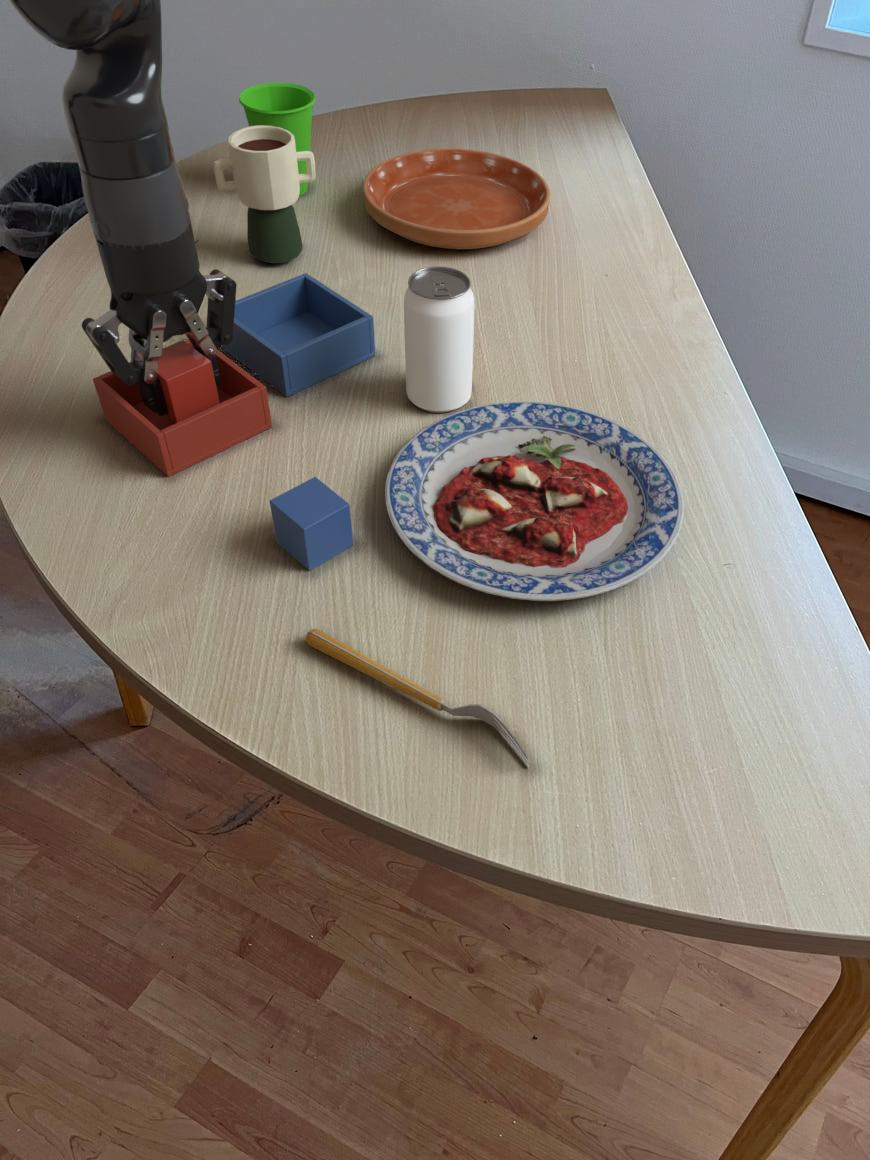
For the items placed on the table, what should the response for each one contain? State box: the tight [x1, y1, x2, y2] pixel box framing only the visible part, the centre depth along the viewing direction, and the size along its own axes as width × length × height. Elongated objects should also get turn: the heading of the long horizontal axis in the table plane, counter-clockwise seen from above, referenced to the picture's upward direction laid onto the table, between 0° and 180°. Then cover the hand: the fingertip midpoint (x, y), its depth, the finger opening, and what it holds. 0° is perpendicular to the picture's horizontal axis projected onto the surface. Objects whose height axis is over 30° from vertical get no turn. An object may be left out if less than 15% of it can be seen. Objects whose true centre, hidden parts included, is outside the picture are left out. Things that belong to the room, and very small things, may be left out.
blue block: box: [269, 476, 354, 571], centre depth 79 cm, size 5×5×5 cm
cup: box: [238, 82, 316, 197], centre depth 119 cm, size 9×9×11 cm
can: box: [403, 266, 475, 414], centre depth 90 cm, size 6×6×12 cm
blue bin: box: [221, 272, 376, 398], centre depth 97 cm, size 11×11×4 cm
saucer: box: [362, 147, 551, 250], centre depth 118 cm, size 23×23×4 cm
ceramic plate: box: [384, 400, 685, 602], centre depth 83 cm, size 26×26×3 cm
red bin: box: [92, 339, 273, 478], centre depth 89 cm, size 11×11×4 cm
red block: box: [157, 339, 220, 423], centre depth 87 cm, size 5×5×5 cm
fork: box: [305, 628, 530, 768], centre depth 70 cm, size 2×2×20 cm
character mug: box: [213, 125, 317, 264], centre depth 107 cm, size 11×7×13 cm, turn 108°
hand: (184, 399), depth 89 cm, fingers closed on red block, 4 cm apart
